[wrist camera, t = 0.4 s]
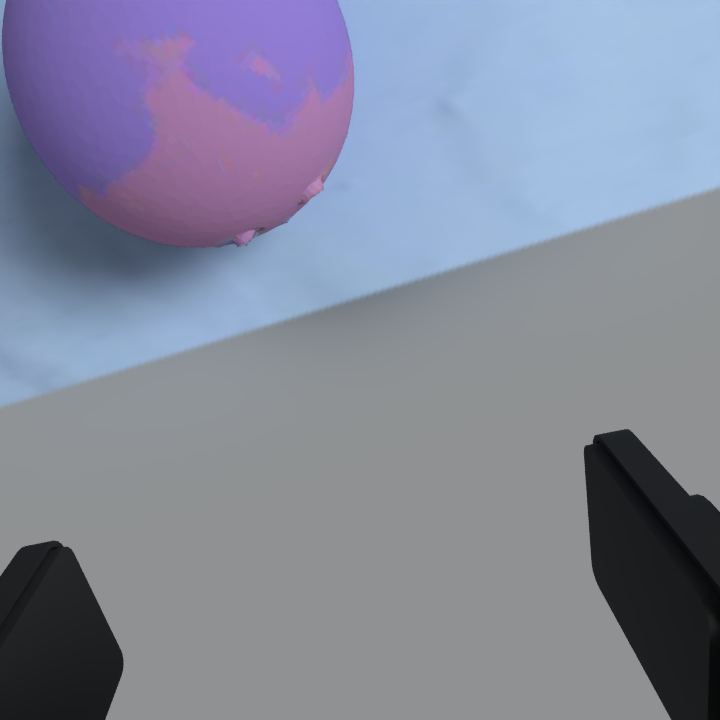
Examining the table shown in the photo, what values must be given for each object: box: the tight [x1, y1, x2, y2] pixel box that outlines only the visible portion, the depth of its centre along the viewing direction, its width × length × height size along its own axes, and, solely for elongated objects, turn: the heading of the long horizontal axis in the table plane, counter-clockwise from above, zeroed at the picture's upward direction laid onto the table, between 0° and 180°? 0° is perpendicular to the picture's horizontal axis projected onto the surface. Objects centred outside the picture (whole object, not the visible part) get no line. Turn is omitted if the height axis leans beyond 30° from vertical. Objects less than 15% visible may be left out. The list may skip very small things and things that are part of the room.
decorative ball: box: [2, 0, 354, 248], centre depth 28 cm, size 15×15×15 cm
